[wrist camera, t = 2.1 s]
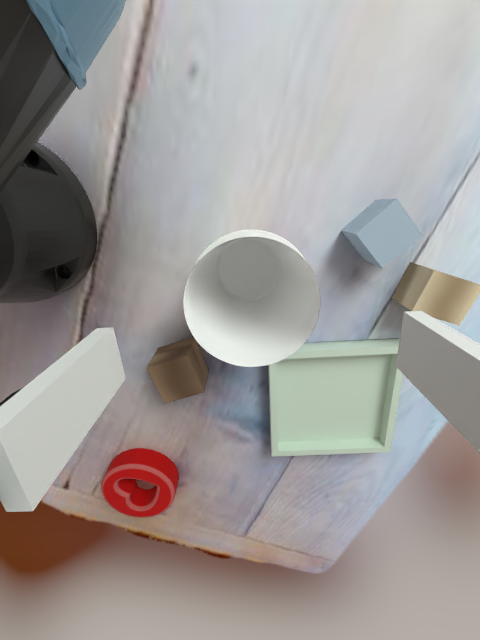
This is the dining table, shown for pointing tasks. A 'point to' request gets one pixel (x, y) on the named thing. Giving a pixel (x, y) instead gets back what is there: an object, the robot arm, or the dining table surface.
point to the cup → (251, 299)
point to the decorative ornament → (141, 466)
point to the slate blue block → (382, 232)
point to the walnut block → (179, 370)
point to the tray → (335, 398)
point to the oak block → (436, 293)
